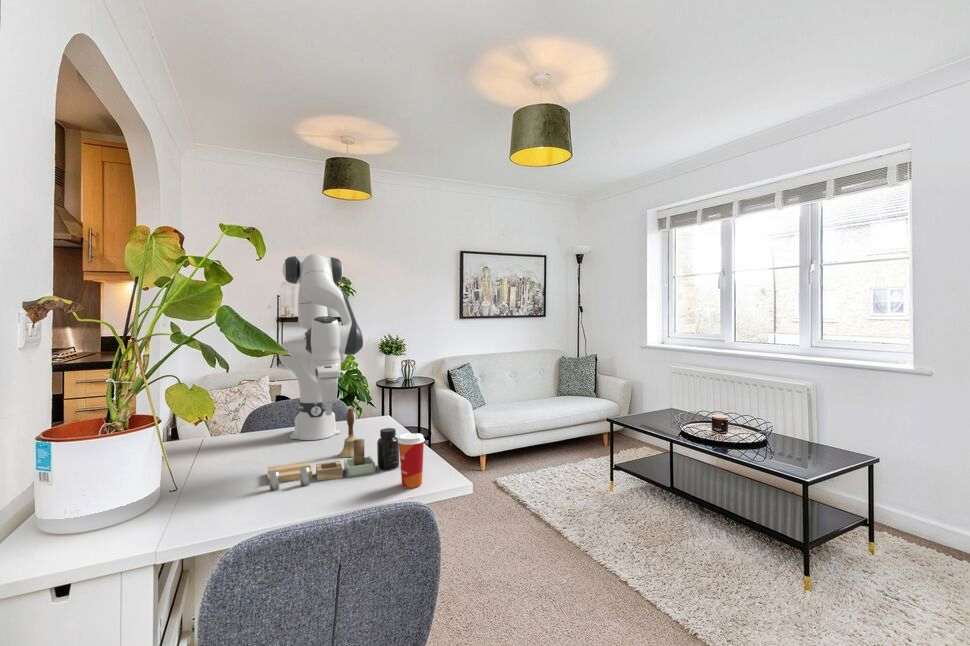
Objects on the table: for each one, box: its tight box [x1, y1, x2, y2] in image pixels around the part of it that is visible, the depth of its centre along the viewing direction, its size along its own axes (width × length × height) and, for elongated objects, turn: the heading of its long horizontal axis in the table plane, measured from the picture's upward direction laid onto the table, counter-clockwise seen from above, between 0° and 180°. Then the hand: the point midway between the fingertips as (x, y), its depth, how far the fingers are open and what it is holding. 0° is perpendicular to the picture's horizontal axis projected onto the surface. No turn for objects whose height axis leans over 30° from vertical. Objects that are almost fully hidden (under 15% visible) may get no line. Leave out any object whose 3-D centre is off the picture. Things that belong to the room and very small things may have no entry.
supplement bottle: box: [376, 427, 400, 471], centre depth 147 cm, size 7×7×12 cm
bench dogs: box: [269, 466, 311, 492], centre depth 131 cm, size 2×10×5 cm, turn 113°
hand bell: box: [338, 407, 358, 459], centre depth 161 cm, size 8×8×16 cm
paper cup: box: [398, 432, 426, 489], centre depth 132 cm, size 8×8×14 cm
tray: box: [343, 455, 376, 478], centre depth 144 cm, size 8×8×3 cm
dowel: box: [353, 438, 366, 466], centre depth 144 cm, size 3×3×9 cm
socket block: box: [315, 460, 343, 482], centre depth 140 cm, size 7×7×3 cm
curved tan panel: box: [267, 461, 313, 486], centre depth 140 cm, size 10×12×2 cm
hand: (326, 411), depth 146 cm, fingers open, 8 cm apart
